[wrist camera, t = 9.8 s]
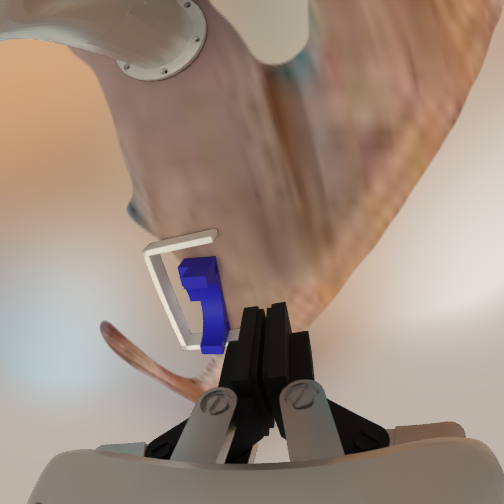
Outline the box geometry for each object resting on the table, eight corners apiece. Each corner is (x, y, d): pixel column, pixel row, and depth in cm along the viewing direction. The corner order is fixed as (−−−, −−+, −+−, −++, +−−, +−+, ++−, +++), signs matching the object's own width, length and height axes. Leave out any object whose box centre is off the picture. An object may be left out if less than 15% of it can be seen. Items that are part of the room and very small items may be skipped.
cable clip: (184, 258, 41) (170, 278, 36) (215, 255, 40) (205, 276, 35) (201, 328, 45) (192, 353, 40) (230, 328, 45) (223, 354, 39)
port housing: (150, 243, 40) (141, 251, 38) (216, 228, 39) (210, 236, 36) (188, 338, 46) (183, 350, 44) (247, 331, 45) (245, 344, 42)
